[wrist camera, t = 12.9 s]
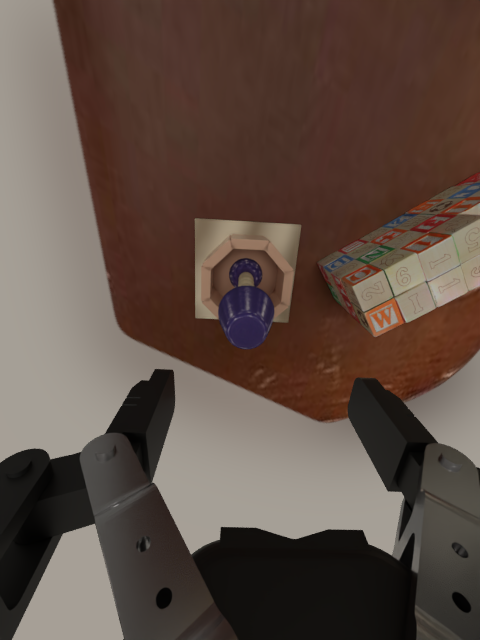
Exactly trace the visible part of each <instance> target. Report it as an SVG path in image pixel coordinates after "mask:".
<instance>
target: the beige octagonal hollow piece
mask: <svg viewBox="0 0 480 640" xmlns="http://www.w3.org/2000/svg"><path fill="white" fill-rule="evenodd" d="M243 258H249V259H252V260H254V261H256V262H257V263H258V264H259V265H260V267H261V269H262V280H261V282H260V284H259V285H258V286H257V288H260V289H261V290H263V291H264V292H265V293H266V294H267V295H268V296H269V297H270V299H271V301H272V302H273V305H274V318H276V317H277V316H278V315H279V314H281V313H282V312H283V311H284V310H286V309H287V308H288V306H289V305H290V298H291V290H292V283H293V276H294V271H293V268H292V267H291V266H290V265H289V263H288V262H287V261H286V260H285V259H284V257H283V256H282V255H281V254H280V252H279V251H278V250H277V249H276V248H275V246H274V245H273V244H272V243H271V241H269V240H268V239H267V238H266V237H264V236H262V235H245V234H232V236H231V235H229V236H228V237H227V238H226V239H225V240H224V241H223V242H222V243H221V244H219V245H218V246H217V247H216V248H215V249H214V250H213V251H212V252H211V253H210V254H209V255H208V256H207V258H206V259H205V261H204V262H203V264H202V266H201V301H202V303H203V304H204V305H205V306H206V307H207V308H208V309H209V310H210V311H211V312H212V313H213V314H214V315H215V316H216V317H217V318H218V319H219V316H218V308H219V304H220V301H221V300H222V298H223V296H224V295H225V294H226V293H227V292H228V291H230V290H232V289H233V288H235V287H234V286H233V285H232V284H231V282H230V278H229V271H230V268H231V266H232V265H233V264H234V262H236V261H237V260H239V259H243ZM287 305H288V306H287Z"/></svg>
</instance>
